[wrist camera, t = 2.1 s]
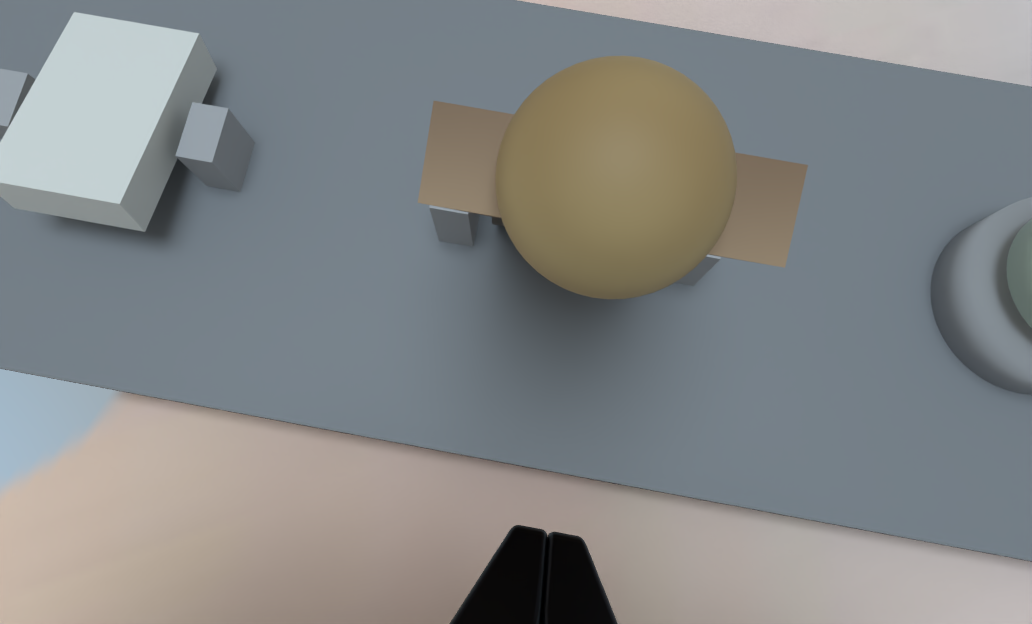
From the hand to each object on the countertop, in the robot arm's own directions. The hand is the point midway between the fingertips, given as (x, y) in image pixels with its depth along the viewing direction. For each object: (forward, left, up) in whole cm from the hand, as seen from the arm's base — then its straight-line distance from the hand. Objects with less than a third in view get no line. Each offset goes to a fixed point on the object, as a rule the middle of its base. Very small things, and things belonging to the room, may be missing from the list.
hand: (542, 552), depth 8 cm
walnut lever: (+6, +5, -9) cm, 12 cm away
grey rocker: (-2, +15, -9) cm, 18 cm away
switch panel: (+6, +5, -12) cm, 14 cm away
